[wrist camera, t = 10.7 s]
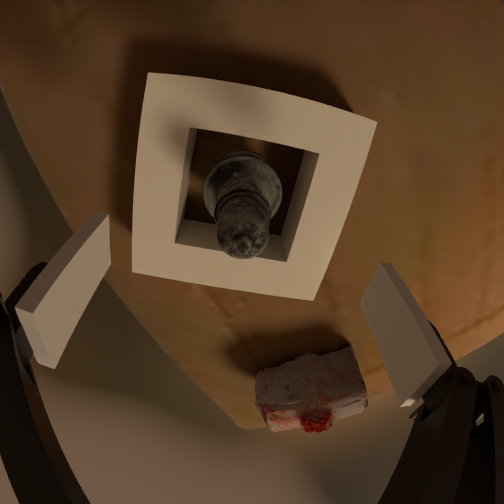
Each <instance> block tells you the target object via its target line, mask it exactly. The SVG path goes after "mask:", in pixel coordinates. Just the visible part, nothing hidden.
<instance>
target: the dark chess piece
mask: <svg viewBox="0 0 504 504" xmlns="http://www.w3.org/2000/svg"><path fill="white" fill-rule="evenodd" d="M203 197H204V201H205V205H206V208H207V209H208V211H209V213H210V214H211V216H212V217H213V218H214V219H215V223H216V225H217V227H218V228H217V240H218V243H219V246H220V247H221V249H222V250H223V251H224V252H225V253H226V254H227V255H229V256H231V257H233V258H237V259H250V258H253V257H255V256H257V255H259V254H260V253H262V252H263V250H264V249H265V248H266V246H267V243H268V240H269V230H268V227H269V224H270V222H271V218H272V217H273V216H274V214H275V213H276V212H277V210H278V208H279V206H280V203H281V199H282V187H281V182H280V180H279V178H278V176H277V174H276V172H275V171H274V170H273V169H272V168H271V166H270V165H269V163H268V162H267V161H266V160H265V159H264V158H263V157H261V156H260V155H258V154H257V153H254V152H251V151H242V150H241V151H235V152H232V153H230V154H227V155H225V156H224V157H223V158H222V159H221V160H219V162H218V163H217V165H216V166H215V167H214V168H213V169H212V171H211V172H210V174H209V175H208V177H207V179H206V182H205V185H204V194H203Z"/></svg>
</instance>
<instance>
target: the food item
mask: <svg viewBox="0 0 504 504" xmlns="http://www.w3.org/2000/svg"><path fill="white" fill-rule="evenodd" d="M255 379H256V385H255V393H256V402H255V406H256V408H257V409H258V412H259V415H260V417H261V419H262V420H263V422H265V423H266V424H267V426H268V427H269V428H270V430H271V431H272V432H273V433H275V432H279V431H284V430H288V429H293V428H299V427H304V428H303V429H304V431H305V432H310V433H311V432H313V431H314V432H315V431H316V432H318V433H320V432H321V431H324V430H327V429H328V428H330V426H332V423H331V422H332V420H335V419H339V418H343V417H347V416H350V415H354V414H358V413H362V411H363V410H365V409H366V407H367V406H368V401H367V400H368V399H367V390H366V386H365V383H364V381H363V378H362V376H361V373H360V370H359V366H358V362H357V360H356V358H355V355H354V351H353V348H352V346H351V345H350V346H349V347H347V348H343V349H342V350H339V351H335V352H330V353H327V354H324V355H315V354H312V353H306V354H303V355H302V356H299V357H296V358H295V360H294V361H288V362H285V363H283V364H282V365H280V366H276V367H266V368H265V369H264V371H260V370H259V372H258V374H257V375H256V376H255ZM366 403H367V404H366Z"/></svg>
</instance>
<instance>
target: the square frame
mask: <svg viewBox="0 0 504 504" xmlns="http://www.w3.org/2000/svg"><path fill="white" fill-rule="evenodd" d="M376 125H377V122H376V121H373V120H371V119H368V118H365V117H362V116H360V115H357V114H354V113H351V112H348V111H345V110H342V109H339V108H336V107H332V106H329V105H326V104H323V103H319V102H316V101H312V100H309V99H305V98H301V97H297V96H294V95H290V94H286V93H281V92H277V91H273V90H268V89H264V88H259V87H254V86H249V85H244V84H239V83H233V82H227V81H221V80H214V79H207V78H200V77H192V76H183V75H173V74H161V73H148V77H147V82H146V88H145V94H144V100H143V107H142V114H141V121H140V129H139V138H138V147H137V157H136V168H135V182H134V198H133V222H132V272H135V273H140V274H146V275H151V276H157V277H162V278H168V279H173V280H179V281H185V282H191V283H197V284H203V285H209V286H215V287H221V288H227V289H234V290H240V291H247V292H254V293H260V294H267V295H274V296H281V297H289V298H296V299H304V300H311V301H313V300H314V298H315V296H316V293H317V291H318V288H319V286H320V284H321V281H322V279H323V276H324V274H325V271H326V269H327V266H328V264H329V261H330V259H331V256H332V254H333V251H334V249H335V246H336V243H337V241H338V238H339V236H340V233H341V230H342V227H343V225H344V222H345V219H346V217H347V214H348V211H349V208H350V205H351V203H352V200H353V197H354V194H355V191H356V188H357V185H358V182H359V179H360V176H361V173H362V170H363V167H364V164H365V161H366V158H367V155H368V151H369V148H370V145H371V142H372V138H373V135H374V132H375V128H376ZM197 128H198V129H205V130H211V131H217V132H223V133H229V134H234V135H240V136H245V137H250V138H255V139H260V140H265V141H269V142H274V143H278V144H283V145H287V146H291V147H295V148H300V149H304V154H303V158H302V161H301V165H300V169H299V172H298V176H297V179H296V183H295V187H294V190H293V194H292V197H291V201H290V204H289V208H288V211H287V215H286V218H285V222H284V225H283V229H282V232H281V236H278V235H273V234H269V240H268V243H267V246H266V248H265V249H264V250H263V252H262V253H260V254H259V255H257V256H255V257H253V258H250V259H237V258H233V257H231V256H229V255H227V254H226V253H225V252H224V251H223V250H222V249H221V247H220V246H219V243H218V240H217V228H218V227H217V225H216V224H210V223H204V222H199V221H193V220H187V219H184V214H185V206H186V199H187V191H188V184H189V177H190V171H191V164H192V158H193V152H194V146H195V140H196V134H197Z"/></svg>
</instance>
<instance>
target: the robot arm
mask: <svg viewBox="0 0 504 504" xmlns="http://www.w3.org/2000/svg"><path fill="white" fill-rule="evenodd" d="M500 1H501V2H502V3H504V0H500ZM110 265H111V260H110V239H109V214H104V213H98V212H94V213H93V214H92V215H91V216H90V217H89V218H88V219H87V220H86V221H85V222H84V224H83V225H82V226H81V227H80V228H79V229H78V230H77V231H76V232H75V233H74V234H73V236H72V237H71V238H70V239H69V240H68V241H67V242H66V243H65V244H64V246H63V247H62V248H61V249H60V250H59V251H58V252H57V254H56V255H55V256H54V257H53V258H52V260H51V261H50V262H49V263H45V262H41V263H39V264H37V265H36V266H34V267H33V268H31V270H30V271H29V272H28V273H27V274H26V276H25V278H23V279H22V281H21V282H20V284H19V285H18V286H17V287H16V288H15V289H14V291H13V292H12V293H11V295H10V296H9V297H8V298H7V300H6V301H5V302H4V301H3V298H2V295H1V293H0V455H1V458H2V461H3V464H4V467H5V470H6V472H7V475H8V478H9V480H10V482H11V485H12V488H13V490H14V492H15V495H16V497H17V499H18V502H19V504H91V503H90V502H89V500H88V499H87V497H86V495H85V494H84V492H83V490H82V489H81V486H80V485H79V483H78V481H77V479H76V477H75V475H74V474H73V471H72V470H71V468H70V466H69V464H68V462H67V460H66V457H65V455H64V453H63V451H62V449H61V447H60V445H59V442H58V440H57V437H56V435H55V433H54V431H53V428H52V426H51V423H50V420H49V418H48V415H47V412H46V410H45V407H44V404H43V401H42V398H41V395H40V392H39V389H38V386H37V383H36V380H35V376H34V372H33V369H32V366H31V363H30V362H29V360H30V358H31V357H32V354H33V353H34V356H35V358H36V360H37V362H38V363H39V364H42V365H45V366H47V367H50V368H53V369H55V368H56V365H57V363H58V361H59V359H60V357H61V355H62V353H63V351H64V349H65V346H66V344H67V342H68V340H69V338H70V336H71V334H72V332H73V330H74V328H75V326H76V325H77V323H78V320H79V319H80V317H81V315H82V313H83V312H84V310H85V308H86V306H87V304H88V302H89V301H90V299H91V297H92V295H93V294H94V292H95V290H96V288H97V287H98V285H99V283H100V281H101V280H102V278H103V276H104V275H105V273H106V271H107V270H108V268H109V266H110ZM359 305H360V307H361V309H362V311H363V314H364V316H365V318H366V321H367V323H368V325H369V328H370V330H371V333H372V335H373V337H374V340H375V342H376V345H377V347H378V350H379V352H380V355H381V357H382V360H383V362H384V365H385V368H386V370H387V373H388V375H389V378H390V381H391V383H392V386H393V389H394V392H395V394H396V397H397V400H398V403H399V406H400V407H402V406H410V405H414V404H415V403H416V402H417V401H418V400H419V399H420V398H421V397H422V398H423V400H424V403H423V404H422V405H421V406H420V407H419V408H418V409H416V410H415V411H414V413H413V414H411V416H410V417H409V418H412V417H413V416H414V415H416V414H417V416H416V418H415V419H414V421H415V422H414V424H413V427H412V430H411V432H410V435H409V438H408V440H407V443H406V445H405V448H404V450H403V452H402V455H401V457H400V459H399V462H398V464H397V466H396V468H395V470H394V473H393V475H392V477H391V479H390V481H389V483H388V485H387V487H386V489H385V491H384V493H383V495H382V496H381V498H380V500H379V502H378V504H504V385H503V383H502V381H501V380H500V379H499V378H498V377H496V376H493V375H491V376H489V377H488V378H487V379H486V380H485V381H484V382H479V381H476V380H475V377H474V376H473V374H472V373H471V372H470V371H469V370H468V369H466V368H463V367H457V365H456V363H455V361H454V359H453V357H452V355H451V354H450V352H449V350H448V348H447V346H446V345H444V341H443V339H442V338H440V337H441V336H440V334H439V332H438V331H437V329H436V328H435V327H434V326H433V325H432V323H431V322H430V321H429V320H427V318H426V316H425V315H424V313H423V312H422V310H421V308H420V307H419V305H418V303H417V302H416V300H415V299H414V297H413V295H412V294H411V292H410V291H409V289H408V288H407V286H406V285H405V283H404V282H403V280H402V278H401V277H400V275H399V274H398V272H397V271H396V269H395V268H394V267H393V265H392V264H389V263H383V262H380V263H379V265H378V267H377V269H376V271H375V273H374V275H373V277H372V279H371V281H370V283H369V285H368V287H367V289H366V291H365V293H364V295H363V297H362V299H361V301H360V303H359ZM482 416H484V422H482V423H481V424H480V425H479V426H477V423H476V422H477V421H478V420H479V419H480V418H481V417H482Z"/></svg>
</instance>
